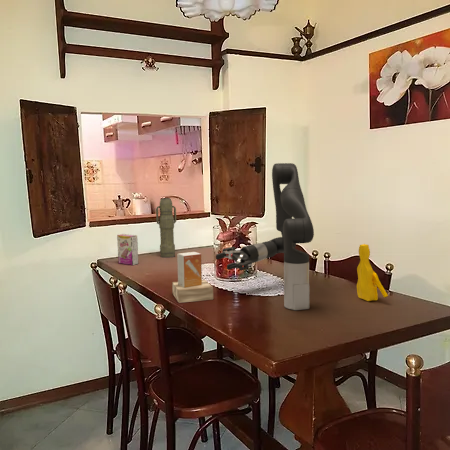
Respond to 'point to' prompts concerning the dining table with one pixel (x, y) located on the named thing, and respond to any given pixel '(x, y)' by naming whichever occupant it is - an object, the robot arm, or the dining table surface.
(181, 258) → the small box
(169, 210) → the thermos
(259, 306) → the dining table surface
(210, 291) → the birch block
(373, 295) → the figure statuette
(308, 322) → the dining table surface
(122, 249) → the candy bar box
